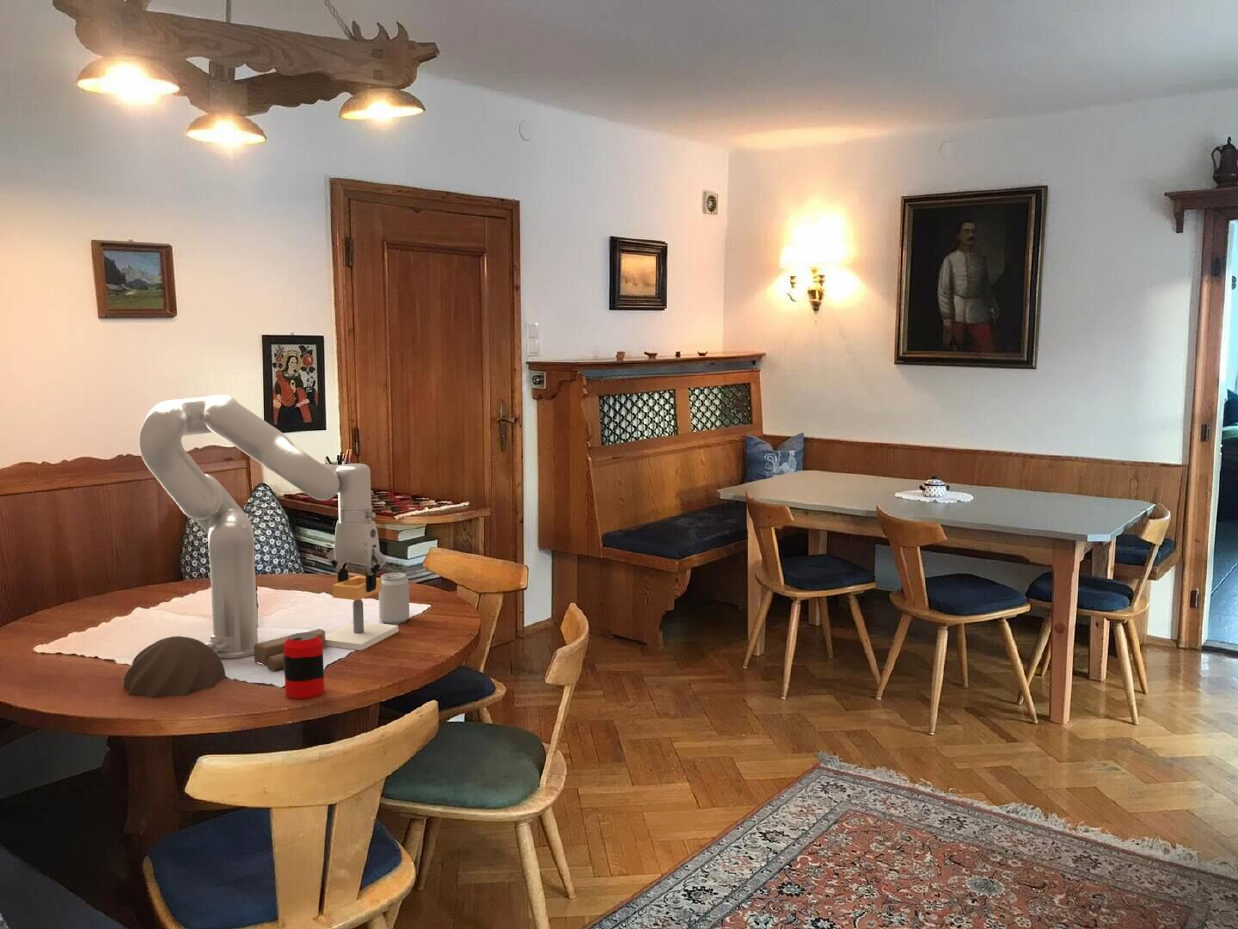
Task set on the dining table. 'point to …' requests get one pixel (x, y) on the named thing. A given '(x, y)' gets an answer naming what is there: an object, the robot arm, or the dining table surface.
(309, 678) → the soda can
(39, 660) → the dining table surface
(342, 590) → the shallow wooden tray
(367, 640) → the stand
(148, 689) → the decorative dome
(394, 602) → the can
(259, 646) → the wooden block set
